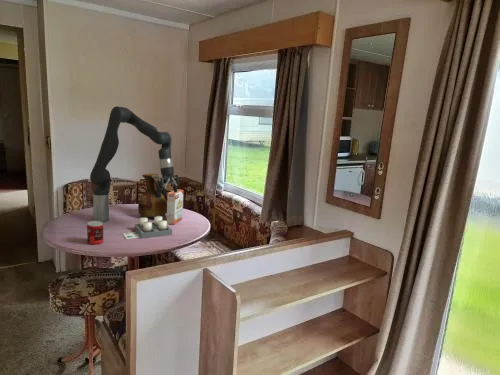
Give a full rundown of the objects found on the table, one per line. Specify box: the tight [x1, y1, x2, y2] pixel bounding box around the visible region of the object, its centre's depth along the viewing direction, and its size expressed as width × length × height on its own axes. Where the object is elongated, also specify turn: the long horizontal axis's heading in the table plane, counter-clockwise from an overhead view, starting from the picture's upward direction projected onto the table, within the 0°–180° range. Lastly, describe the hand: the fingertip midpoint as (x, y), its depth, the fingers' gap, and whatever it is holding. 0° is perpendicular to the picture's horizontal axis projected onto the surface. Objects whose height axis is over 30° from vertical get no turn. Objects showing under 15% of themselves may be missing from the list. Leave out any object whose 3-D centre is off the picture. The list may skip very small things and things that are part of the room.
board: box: [133, 222, 173, 239], centre depth 212 cm, size 18×17×3 cm
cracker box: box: [166, 188, 184, 226], centre depth 233 cm, size 14×6×21 cm, turn 168°
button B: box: [153, 216, 163, 225], centre depth 218 cm, size 5×5×5 cm
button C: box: [143, 221, 153, 232], centre depth 205 cm, size 5×5×5 cm
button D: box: [159, 219, 168, 230], centre depth 210 cm, size 5×5×5 cm
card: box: [122, 231, 142, 240], centre depth 204 cm, size 9×9×1 cm
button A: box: [138, 216, 149, 227], centre depth 213 cm, size 5×5×5 cm
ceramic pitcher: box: [137, 173, 167, 218], centre depth 241 cm, size 20×20×30 cm
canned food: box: [86, 220, 104, 246], centre depth 189 cm, size 8×8×11 cm
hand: (170, 193), depth 208 cm, fingers open, 8 cm apart
